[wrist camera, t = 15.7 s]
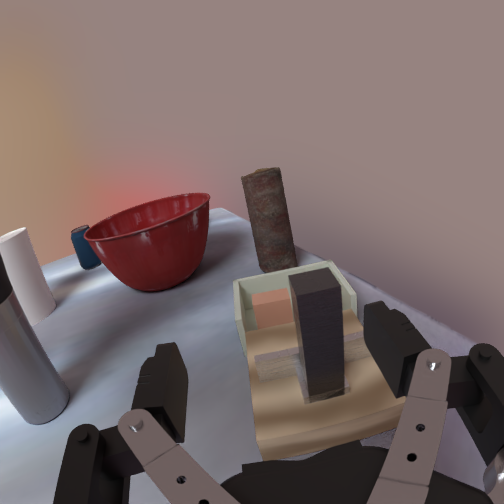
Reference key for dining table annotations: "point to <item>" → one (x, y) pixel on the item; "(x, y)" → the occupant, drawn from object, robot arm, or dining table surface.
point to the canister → (26, 276)
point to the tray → (274, 282)
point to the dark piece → (315, 340)
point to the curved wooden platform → (318, 413)
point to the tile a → (272, 308)
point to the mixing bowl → (154, 241)
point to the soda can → (84, 249)
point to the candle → (269, 219)
